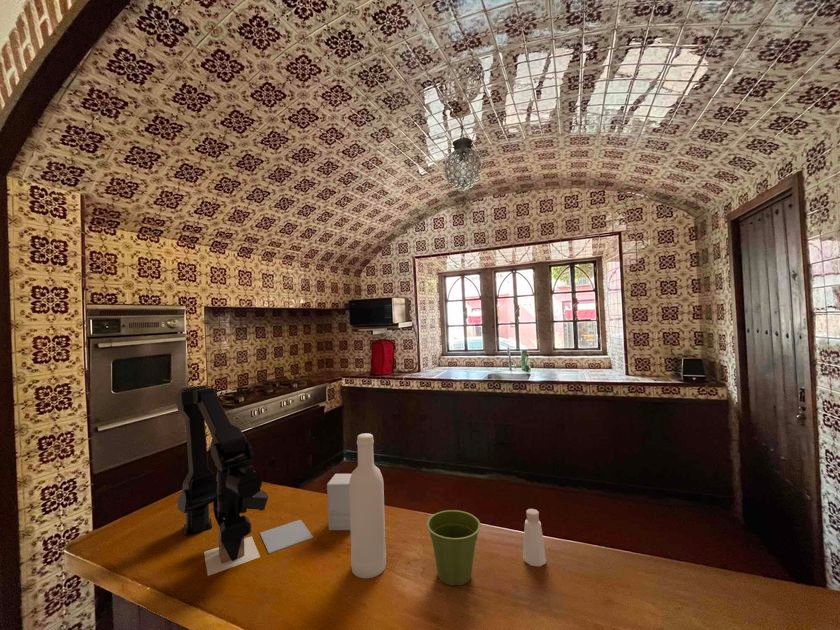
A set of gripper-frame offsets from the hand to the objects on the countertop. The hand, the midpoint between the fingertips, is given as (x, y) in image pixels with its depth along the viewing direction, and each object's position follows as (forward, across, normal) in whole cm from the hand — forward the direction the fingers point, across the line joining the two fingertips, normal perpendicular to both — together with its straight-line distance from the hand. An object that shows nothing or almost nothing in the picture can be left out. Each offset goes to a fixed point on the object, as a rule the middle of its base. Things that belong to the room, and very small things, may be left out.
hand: (231, 550), depth 90 cm
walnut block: (+1, 0, 0) cm, 1 cm away
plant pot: (+1, -39, -39) cm, 55 cm away
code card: (+1, 0, 0) cm, 1 cm away
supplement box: (+1, -4, -28) cm, 28 cm away
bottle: (+1, -25, -25) cm, 35 cm away
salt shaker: (+1, -46, -57) cm, 73 cm away
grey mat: (+1, 0, -13) cm, 13 cm away
